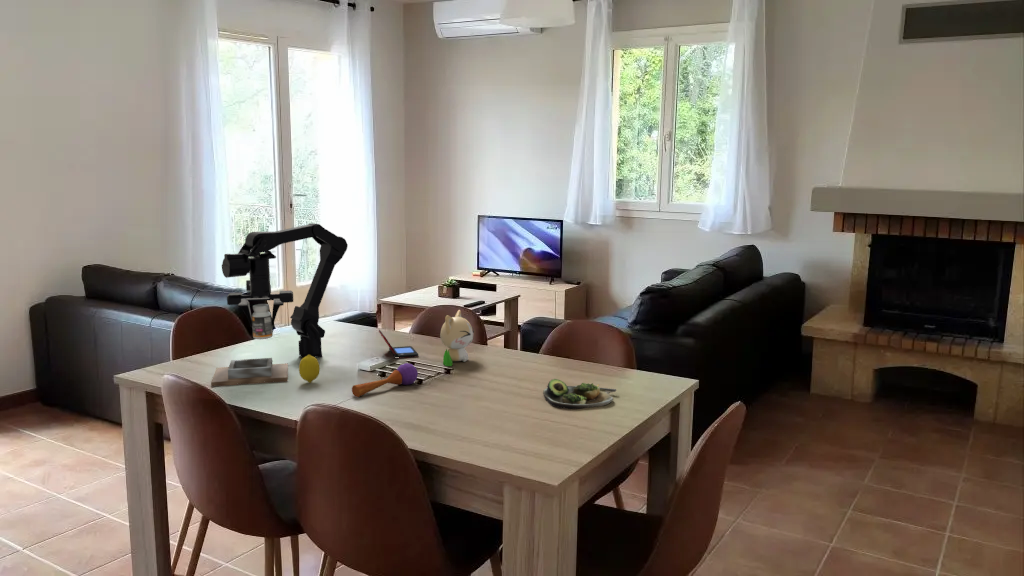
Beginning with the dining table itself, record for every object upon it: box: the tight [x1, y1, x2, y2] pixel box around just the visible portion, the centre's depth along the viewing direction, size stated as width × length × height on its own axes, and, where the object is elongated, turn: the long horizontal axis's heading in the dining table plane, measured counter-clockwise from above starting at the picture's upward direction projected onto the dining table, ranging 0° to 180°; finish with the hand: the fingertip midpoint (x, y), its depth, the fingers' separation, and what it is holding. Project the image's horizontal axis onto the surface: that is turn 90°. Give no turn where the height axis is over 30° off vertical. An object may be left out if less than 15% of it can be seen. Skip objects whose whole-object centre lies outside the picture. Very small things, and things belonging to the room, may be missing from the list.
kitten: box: [439, 309, 475, 367], centre depth 247 cm, size 15×10×15 cm
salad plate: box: [542, 378, 617, 410], centre depth 209 cm, size 19×18×5 cm
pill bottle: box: [251, 303, 273, 340], centre depth 242 cm, size 6×6×10 cm
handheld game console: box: [378, 329, 419, 359], centre depth 256 cm, size 12×11×7 cm
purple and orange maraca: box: [351, 362, 419, 398], centre depth 217 cm, size 6×6×20 cm
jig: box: [210, 357, 289, 387], centre depth 229 cm, size 20×16×4 cm
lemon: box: [298, 355, 321, 384], centre depth 223 cm, size 6×6×8 cm
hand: (262, 325), depth 242 cm, fingers closed on pill bottle, 6 cm apart
